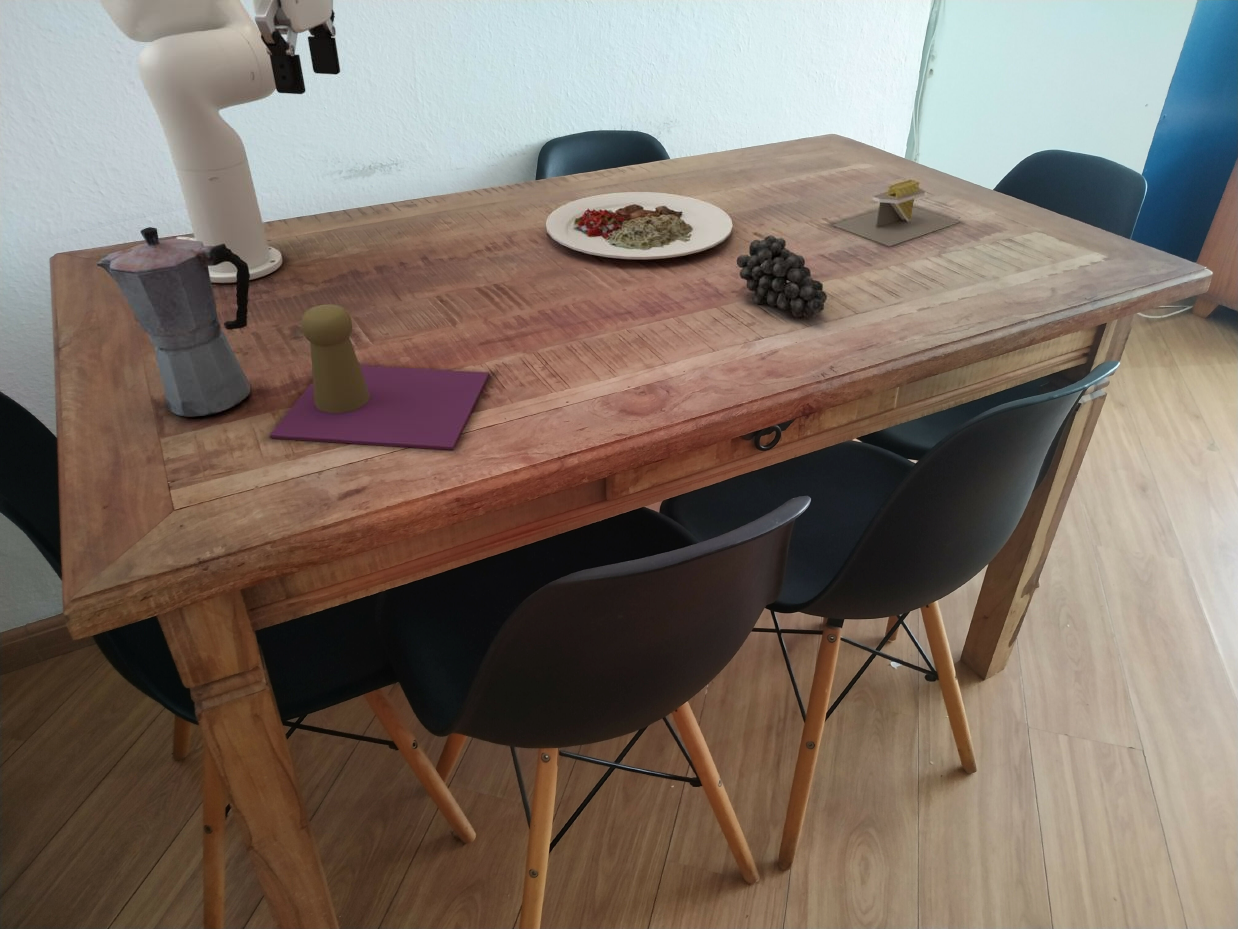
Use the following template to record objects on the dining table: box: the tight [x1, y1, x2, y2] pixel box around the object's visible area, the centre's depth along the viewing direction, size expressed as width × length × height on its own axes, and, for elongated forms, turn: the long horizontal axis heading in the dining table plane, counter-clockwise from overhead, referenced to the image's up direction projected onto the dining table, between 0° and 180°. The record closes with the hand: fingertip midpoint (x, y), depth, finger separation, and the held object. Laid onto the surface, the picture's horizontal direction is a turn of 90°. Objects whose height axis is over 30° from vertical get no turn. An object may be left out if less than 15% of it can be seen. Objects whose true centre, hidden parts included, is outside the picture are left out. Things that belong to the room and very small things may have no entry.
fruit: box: [736, 235, 828, 319], centre depth 119 cm, size 9×8×15 cm
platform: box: [832, 178, 960, 247], centre depth 146 cm, size 12×18×7 cm, turn 127°
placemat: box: [269, 364, 490, 451], centre depth 100 cm, size 20×16×1 cm
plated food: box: [545, 191, 733, 261], centre depth 143 cm, size 30×30×3 cm
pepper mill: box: [300, 303, 370, 413], centre depth 97 cm, size 6×6×11 cm
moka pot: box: [96, 226, 251, 418], centre depth 96 cm, size 10×15×20 cm, turn 95°
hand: (310, 82), depth 103 cm, fingers open, 9 cm apart
